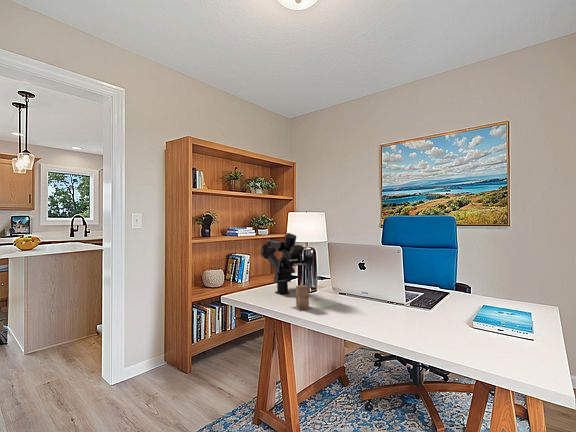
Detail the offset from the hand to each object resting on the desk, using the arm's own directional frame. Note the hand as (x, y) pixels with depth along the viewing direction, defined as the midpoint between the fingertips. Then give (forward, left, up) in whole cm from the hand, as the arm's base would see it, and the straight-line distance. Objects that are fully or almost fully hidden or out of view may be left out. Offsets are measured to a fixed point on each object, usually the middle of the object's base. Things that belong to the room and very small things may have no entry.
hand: (302, 271), depth 153 cm
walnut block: (+7, -5, -16) cm, 18 cm away
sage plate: (+7, +7, -16) cm, 19 cm away
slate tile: (+7, -5, -16) cm, 18 cm away
